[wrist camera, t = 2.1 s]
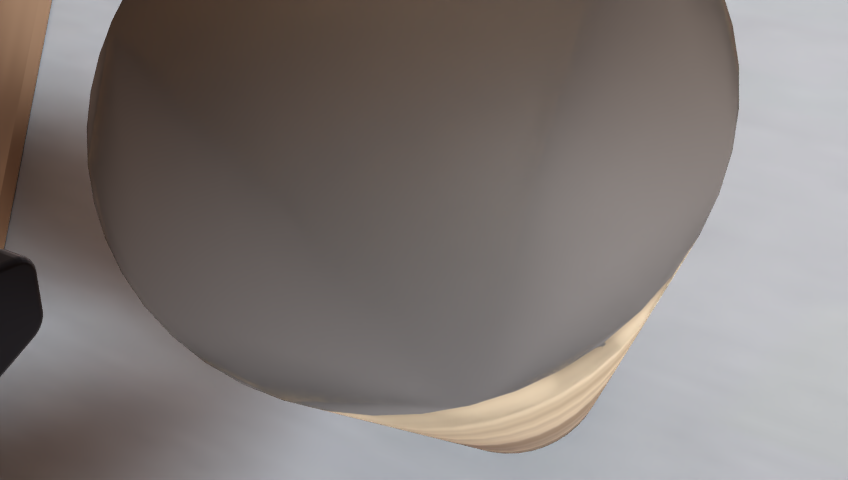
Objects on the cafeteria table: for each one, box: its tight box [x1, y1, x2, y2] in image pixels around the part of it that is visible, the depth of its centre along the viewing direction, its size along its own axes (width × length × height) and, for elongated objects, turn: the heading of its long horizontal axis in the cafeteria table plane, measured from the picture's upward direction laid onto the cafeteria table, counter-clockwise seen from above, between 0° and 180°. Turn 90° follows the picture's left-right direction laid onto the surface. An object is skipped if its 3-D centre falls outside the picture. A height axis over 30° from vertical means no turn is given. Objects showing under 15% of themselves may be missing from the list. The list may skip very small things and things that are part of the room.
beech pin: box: [87, 0, 739, 453], centre depth 11 cm, size 4×4×13 cm
